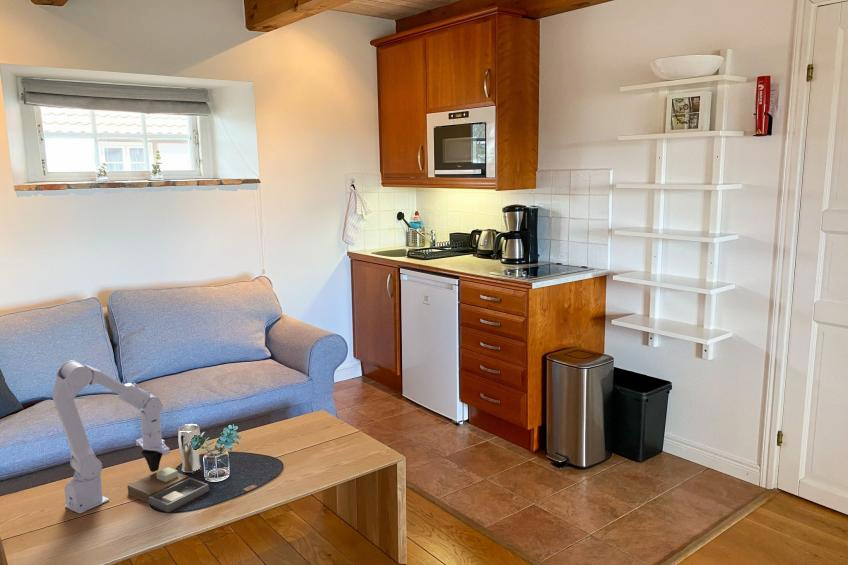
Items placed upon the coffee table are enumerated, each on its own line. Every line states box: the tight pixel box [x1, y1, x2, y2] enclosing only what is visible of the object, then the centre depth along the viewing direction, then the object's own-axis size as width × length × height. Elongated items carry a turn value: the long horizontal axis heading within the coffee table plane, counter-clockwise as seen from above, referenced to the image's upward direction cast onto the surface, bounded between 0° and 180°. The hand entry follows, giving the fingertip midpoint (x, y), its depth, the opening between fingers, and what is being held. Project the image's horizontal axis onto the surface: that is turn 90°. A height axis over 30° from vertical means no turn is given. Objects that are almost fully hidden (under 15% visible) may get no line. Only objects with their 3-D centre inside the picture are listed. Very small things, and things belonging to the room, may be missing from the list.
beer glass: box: [177, 423, 202, 473], centre depth 218 cm, size 7×7×15 cm
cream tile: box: [162, 491, 184, 503], centre depth 197 cm, size 4×4×2 cm
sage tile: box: [155, 466, 179, 482], centre depth 208 cm, size 4×4×2 cm
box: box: [148, 477, 210, 513], centre depth 200 cm, size 15×9×2 cm, turn 148°
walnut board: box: [127, 469, 189, 504], centre depth 206 cm, size 14×11×3 cm
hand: (154, 470), depth 211 cm, fingers closed
